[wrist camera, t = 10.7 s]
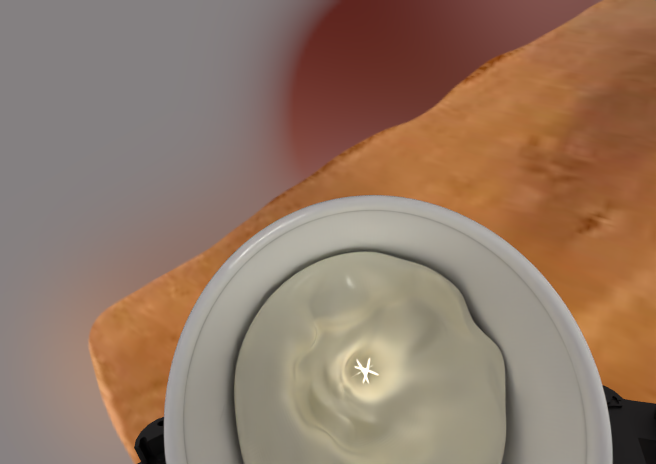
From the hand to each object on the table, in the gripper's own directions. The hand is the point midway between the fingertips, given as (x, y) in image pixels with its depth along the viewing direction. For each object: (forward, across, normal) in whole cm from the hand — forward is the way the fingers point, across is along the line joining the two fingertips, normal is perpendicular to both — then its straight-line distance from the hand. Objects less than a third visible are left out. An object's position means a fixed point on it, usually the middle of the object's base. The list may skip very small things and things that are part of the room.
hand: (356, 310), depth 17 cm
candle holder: (+1, 0, -5) cm, 5 cm away
